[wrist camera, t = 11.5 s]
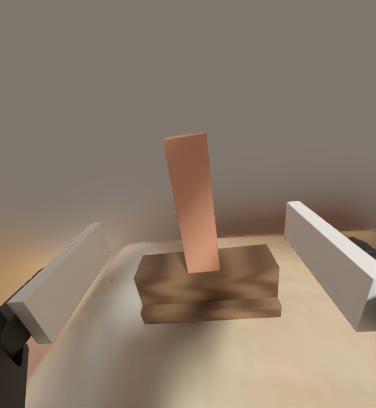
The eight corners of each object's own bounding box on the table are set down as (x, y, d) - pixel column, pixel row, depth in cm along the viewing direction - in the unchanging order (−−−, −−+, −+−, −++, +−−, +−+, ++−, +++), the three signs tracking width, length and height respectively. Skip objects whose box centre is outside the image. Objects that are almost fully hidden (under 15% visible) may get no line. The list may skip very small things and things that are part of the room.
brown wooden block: (262, 275, 30) (263, 239, 27) (280, 316, 23) (283, 275, 21) (154, 283, 32) (145, 250, 29) (144, 324, 25) (130, 286, 23)
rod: (216, 250, 26) (204, 131, 20) (220, 270, 23) (206, 133, 17) (189, 252, 27) (168, 137, 21) (188, 273, 23) (162, 140, 17)
